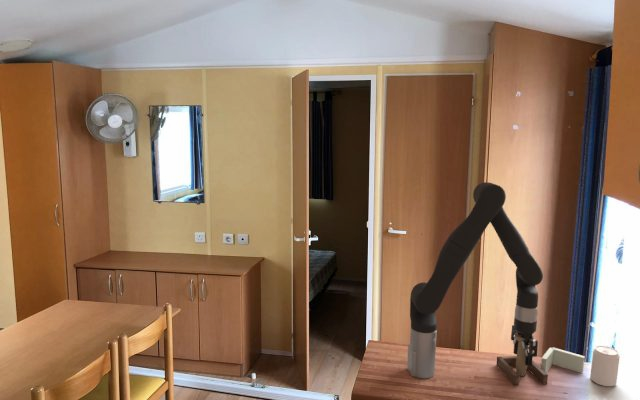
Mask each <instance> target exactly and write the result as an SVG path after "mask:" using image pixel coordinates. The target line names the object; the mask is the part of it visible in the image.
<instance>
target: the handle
mask: <svg viewBox="0 0 640 400" xmlns="http://www.w3.org/2000/svg"><path fill="white" fill-rule="evenodd" d="M520 336H521V335H518V334H517V333H516V334H515V335H514V337H515V339H516V340H517V341H518V350H517V354H516V356H517V357H516V367H515V369H516V370H515V372H516V373H517V374H518V375H519V377H524V376H526V375H527V370H528V369H527V366H526V365H525V357H526V353H525V350H524V349H523V346H522V339H523V340H524V341H525V339H524V338H521V337H520ZM532 337H533V340H535V338H534V337H535V336H534V335H533V334H532ZM526 347H529V345H528V346H526Z"/></svg>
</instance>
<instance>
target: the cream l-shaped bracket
mask: <svg viewBox="0 0 640 400" xmlns="http://www.w3.org/2000/svg"><path fill="white" fill-rule="evenodd" d="M585 358H586V356H585V355H582V354H577V353H575V352H571V351H568V350H563V349H561V348H557V347H554V346H553V347H549V348H548V349H547V350H546V351H545V353H544V354H543V356H542V357H541V362H540V368H541V369H542V370H543V371H544V372H546V373H548V371H549V370H550V368H551V367H552V366H553V365H554V366H557V367H561V368H564V369H567V370H570V371H574V372H578V373H581V374H583V372H584V369H585V367H584V366H585Z"/></svg>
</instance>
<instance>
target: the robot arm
mask: <svg viewBox="0 0 640 400" xmlns="http://www.w3.org/2000/svg"><path fill="white" fill-rule="evenodd" d="M472 197H473V201H474V203H475V204H474V206H473V208H472V209H471V211H470V213H469V214H468V216H467V217H466V218H465V219H464V220H463V221H462V222H461V223H460V224H459V225H458V226H457V227H456V228H455V229H454V230H453V231H452V232H450V234H449V236H448V237H447V239H446V240H445V242H444V243H443V246H442V247H441V249H440V251H439V254H438V256H437V261H436V264H435V267H434V270H433V273H432V274H431V276H430V278H429V279H428V280H427V282H418V283H417V284H415V285H414V286H413V287H412V289H411V292H410V301H409V302H410V304H409V317H410V318H409V320H410V336H409V337H410V338H409V339H410V340H409V344H408V345H407V362H406V364H407V365H406V369H407V371H408V373H409V374H410V376H411V377H413V378H418V379H430V378H433V376H435V370H436V351H437V350H436V348H437V334H438V333H437V331H438V322H437V314H436V311H438V310H439V308H440V307H441V305H442V303H443V300H444V298H445V297H446V294H447V293H448V290H449V289H450V287H451V285H452V283H453V281H454V280H455V279H456V277H457V275H458V274H459V272H460V271H461V269H462V267H463V266H464V264H465V263H466V262H467V260H468V258H469V257H470V256H471V254H472V252H473V251H474V248H475V247H476V245H477V244H478V242H479V240H480V239H481V238H482V236H483V234H484V232H485V230H486V229H487V227H488V226H489V224H491V226H492V228H493V230H494V232H495V233H496V235H497V237H498V238H499V241H500V242H501V244H502V246H503V247H504V248H503V249H504V250H505V252H506V255H508V257H509V259H510V260H511V262H513V264H514V265H515V266H516V269H515V283H516V289H517V291H516V292H517V293H516V302H515V307H514V317H513V324H512V325H511V332H510V340H511V341H512V342H513V343H512V344H513V352H512V353H513V354H514V355H517V350H518V341H517V340H516V339H515V337H514V336H515V334H516V333H517V334H518V335H521V336H520V337H521V338H524V339H525V341H524V340H523V339H522V346H523V349H524V350H525V353H526V357H525V365H526V366H531V365H532V360H533V358H537V357H538V347H539V345H538V342H539V341H538V339H534V340H533V337H532V335H533V334H535V332H537V325H538V313H539V312H538V311H539V310H538V305H539V304H538V303H539V293H538V291H537V289H536V286H538V285H539V284H541V283H542V281H543V277H544V273H543V270H542V269H541V267H540V265H539V264H538V262H537V260H535V258H534V257H533V255H532V254H531V253H532V252H531V251H530V250H529V247H528V245H527V244H526V242H525V239H524V238H523V236H522V234H521V233H520V232H519V230H518V228H517V227H516V226H515V224H514V223H513V221H512V220H511V218H510V217H509V215H508V214H507V212H506V211H505V209H504V205H505V202H506V198H507V195H506V191H505V189H504V188H503V187H502V186H501V185H498V184H496V183H493V182H488V181H487V182H485V181H484V182H481V183H479V184H477V185H476V186H475V188H474V189H473V193H472ZM526 346H528V347H526Z"/></svg>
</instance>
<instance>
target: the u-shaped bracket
mask: <svg viewBox="0 0 640 400" xmlns="http://www.w3.org/2000/svg"><path fill="white" fill-rule="evenodd" d="M516 357H517V355H508V356H504V355H503V356H497V357H496V366H497V368H498V367H499V368H498V369H499V370H500V371H501V372H502V373H503V374H504V376H505V377H507V379H508V380H509V381H510V382H511V383H512V384H513V386H519V385H520V384H519V383H520V375H518V374H517V373H516V370H514V367H515V368H516ZM527 368H528V369H529V370H530V371H531V372H532V373H533V374H532V373H531V372H530V371H529V370H528V369H527V370H528V371H529V372H530V373H531V374H532V375H533V376H534V377H535V378H536V379H537V380H538V381H539V382H540V383H541V384H542V385H547V384H548V377H549V375H548V374H549V373H548V372H544V371H543V370H542V369H541V366H539V365H538V364H537V363H536V362H535V361H534V360H533V359H532V365H531V366H527Z"/></svg>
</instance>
